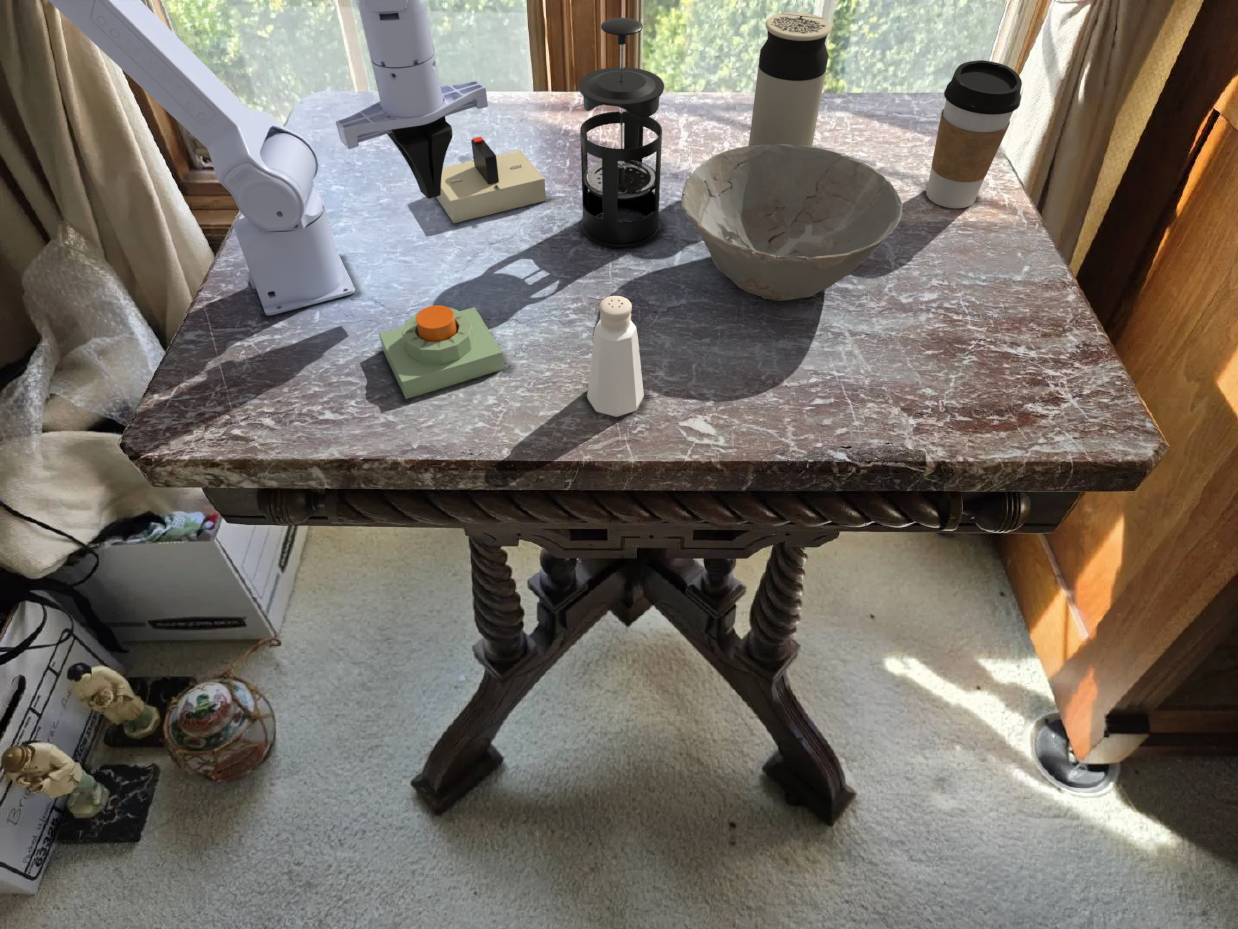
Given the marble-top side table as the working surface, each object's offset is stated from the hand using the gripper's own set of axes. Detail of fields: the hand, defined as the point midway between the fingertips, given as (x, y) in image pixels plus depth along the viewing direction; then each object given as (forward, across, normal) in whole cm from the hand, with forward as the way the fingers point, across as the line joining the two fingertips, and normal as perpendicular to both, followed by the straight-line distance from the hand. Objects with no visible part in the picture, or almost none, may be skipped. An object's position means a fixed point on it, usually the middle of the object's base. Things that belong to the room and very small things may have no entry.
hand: (430, 193), depth 86 cm
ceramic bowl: (+12, -31, +20) cm, 38 cm away
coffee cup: (+12, -60, +19) cm, 64 cm away
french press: (+11, -22, +2) cm, 25 cm away
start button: (+7, +7, +12) cm, 15 cm away
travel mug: (+12, -46, +2) cm, 48 cm away
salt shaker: (+11, -4, +26) cm, 29 cm away
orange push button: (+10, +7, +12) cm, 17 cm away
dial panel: (+10, -12, -13) cm, 21 cm away
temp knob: (+7, -12, -13) cm, 19 cm away
